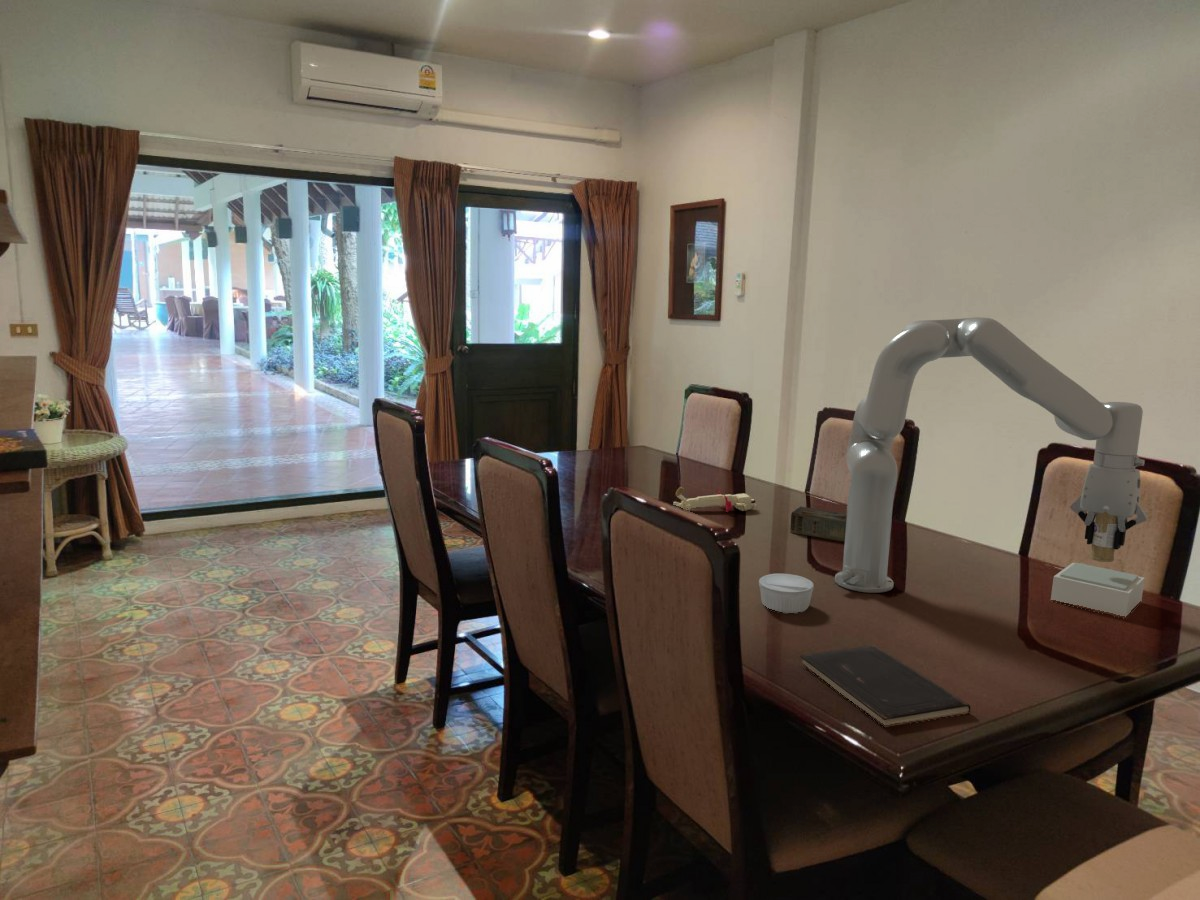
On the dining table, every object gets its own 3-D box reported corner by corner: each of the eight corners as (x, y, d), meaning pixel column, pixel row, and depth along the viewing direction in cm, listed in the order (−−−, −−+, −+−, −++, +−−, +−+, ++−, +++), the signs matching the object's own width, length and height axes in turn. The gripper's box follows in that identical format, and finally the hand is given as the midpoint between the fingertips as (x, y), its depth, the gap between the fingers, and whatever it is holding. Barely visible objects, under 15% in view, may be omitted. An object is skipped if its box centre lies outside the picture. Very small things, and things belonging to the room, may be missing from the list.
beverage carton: (859, 545, 217) (861, 521, 216) (788, 533, 227) (789, 510, 226) (866, 538, 224) (868, 514, 223) (797, 527, 234) (799, 504, 233)
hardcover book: (883, 732, 123) (884, 718, 123) (799, 667, 144) (800, 655, 144) (970, 717, 128) (971, 703, 128) (876, 656, 150) (877, 644, 149)
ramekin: (772, 618, 165) (774, 593, 165) (748, 598, 176) (749, 575, 175) (822, 613, 168) (824, 589, 168) (795, 595, 179) (797, 571, 178)
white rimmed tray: (1125, 618, 169) (1129, 590, 168) (1050, 600, 178) (1053, 574, 177) (1141, 602, 179) (1145, 575, 178) (1069, 585, 188) (1072, 560, 187)
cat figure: (680, 520, 243) (761, 511, 247) (679, 491, 241) (760, 483, 245) (671, 512, 252) (749, 503, 256) (670, 484, 251) (748, 476, 255)
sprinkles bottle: (1084, 556, 179) (1092, 496, 176) (1104, 556, 179) (1112, 496, 177) (1099, 563, 174) (1107, 501, 172) (1119, 563, 175) (1127, 501, 172)
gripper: (1166, 465, 170) (1153, 550, 173) (1075, 453, 181) (1065, 534, 185) (1158, 470, 165) (1145, 558, 168) (1064, 457, 176) (1054, 540, 179)
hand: (1103, 544), depth 176 cm, fingers closed on sprinkles bottle, 4 cm apart
